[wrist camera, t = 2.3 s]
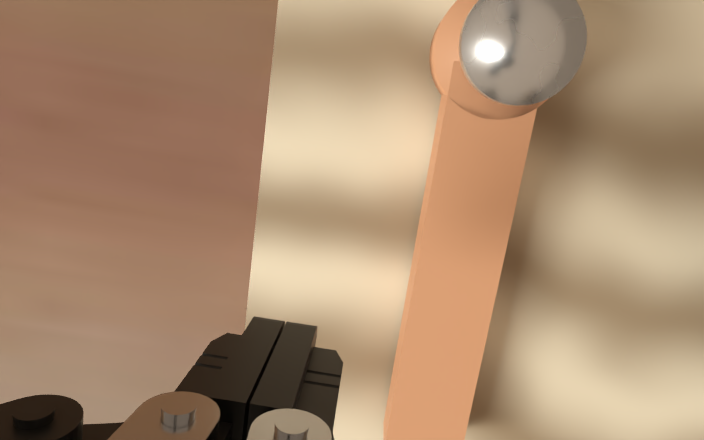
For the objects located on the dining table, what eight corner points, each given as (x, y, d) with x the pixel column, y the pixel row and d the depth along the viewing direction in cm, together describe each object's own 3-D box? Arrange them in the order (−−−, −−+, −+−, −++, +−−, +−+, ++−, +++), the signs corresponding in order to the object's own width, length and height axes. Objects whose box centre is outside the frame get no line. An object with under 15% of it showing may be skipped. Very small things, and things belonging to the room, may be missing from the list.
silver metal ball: (460, -12, 17) (474, -33, 14) (567, 2, 17) (600, -15, 14) (441, 96, 17) (451, 96, 15) (543, 111, 17) (570, 113, 15)
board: (295, -111, 19) (291, -123, 18) (1067, -6, 19) (1104, -12, 18) (233, 482, 25) (227, 497, 24) (816, 579, 25) (834, 599, 24)
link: (441, -17, 19) (447, -31, 17) (564, 0, 18) (586, -12, 17) (367, 419, 23) (365, 449, 21) (468, 436, 23) (476, 468, 21)
